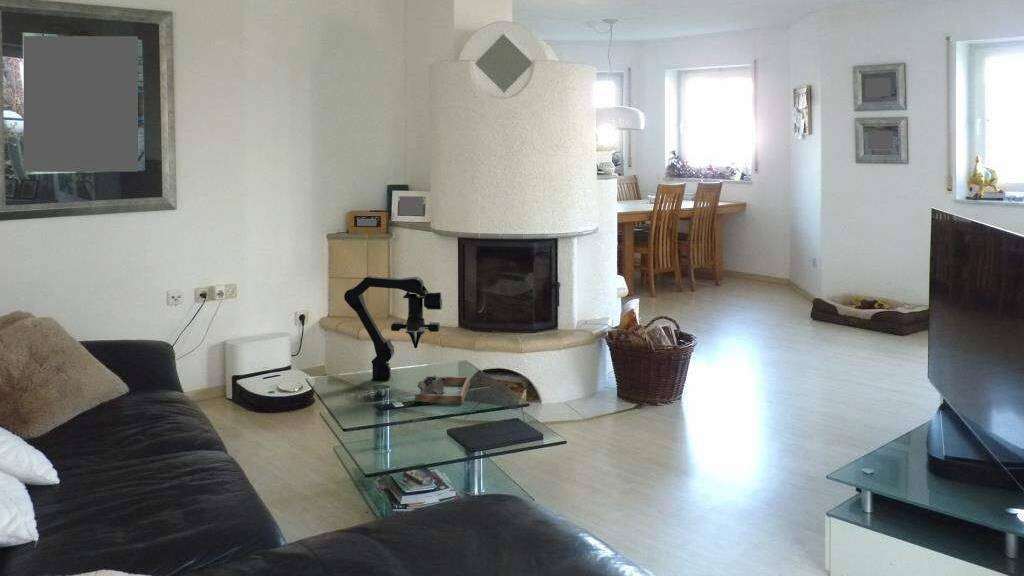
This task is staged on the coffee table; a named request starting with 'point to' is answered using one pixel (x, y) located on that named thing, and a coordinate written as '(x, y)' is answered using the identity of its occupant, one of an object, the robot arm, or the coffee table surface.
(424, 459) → the coffee table surface
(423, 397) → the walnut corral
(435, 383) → the decorative stone
